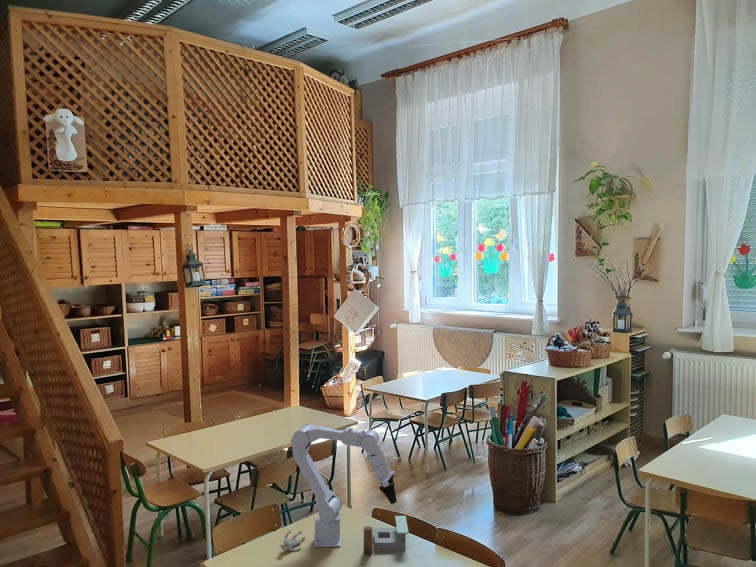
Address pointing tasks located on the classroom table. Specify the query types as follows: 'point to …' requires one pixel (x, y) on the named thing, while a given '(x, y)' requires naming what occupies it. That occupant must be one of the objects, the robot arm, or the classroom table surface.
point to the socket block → (392, 536)
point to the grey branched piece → (291, 542)
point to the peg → (368, 540)
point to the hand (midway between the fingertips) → (393, 499)
